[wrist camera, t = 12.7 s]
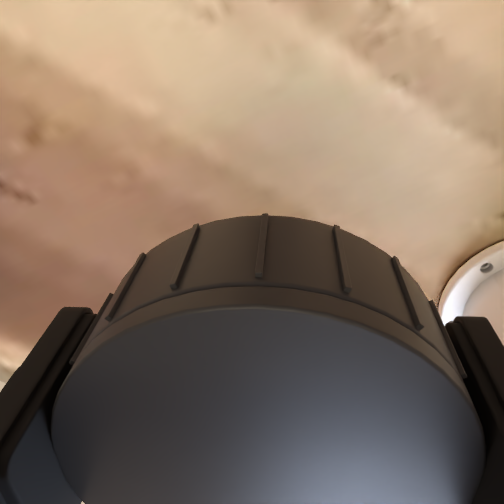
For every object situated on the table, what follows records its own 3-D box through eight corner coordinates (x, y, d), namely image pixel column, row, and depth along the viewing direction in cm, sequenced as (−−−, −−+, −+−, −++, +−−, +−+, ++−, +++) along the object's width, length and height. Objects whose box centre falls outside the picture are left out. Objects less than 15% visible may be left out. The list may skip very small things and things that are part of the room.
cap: (134, 456, 12) (97, 568, 10) (70, 208, 9) (-17, 295, 6) (411, 470, 12) (440, 592, 9) (476, 210, 8) (555, 307, 6)
